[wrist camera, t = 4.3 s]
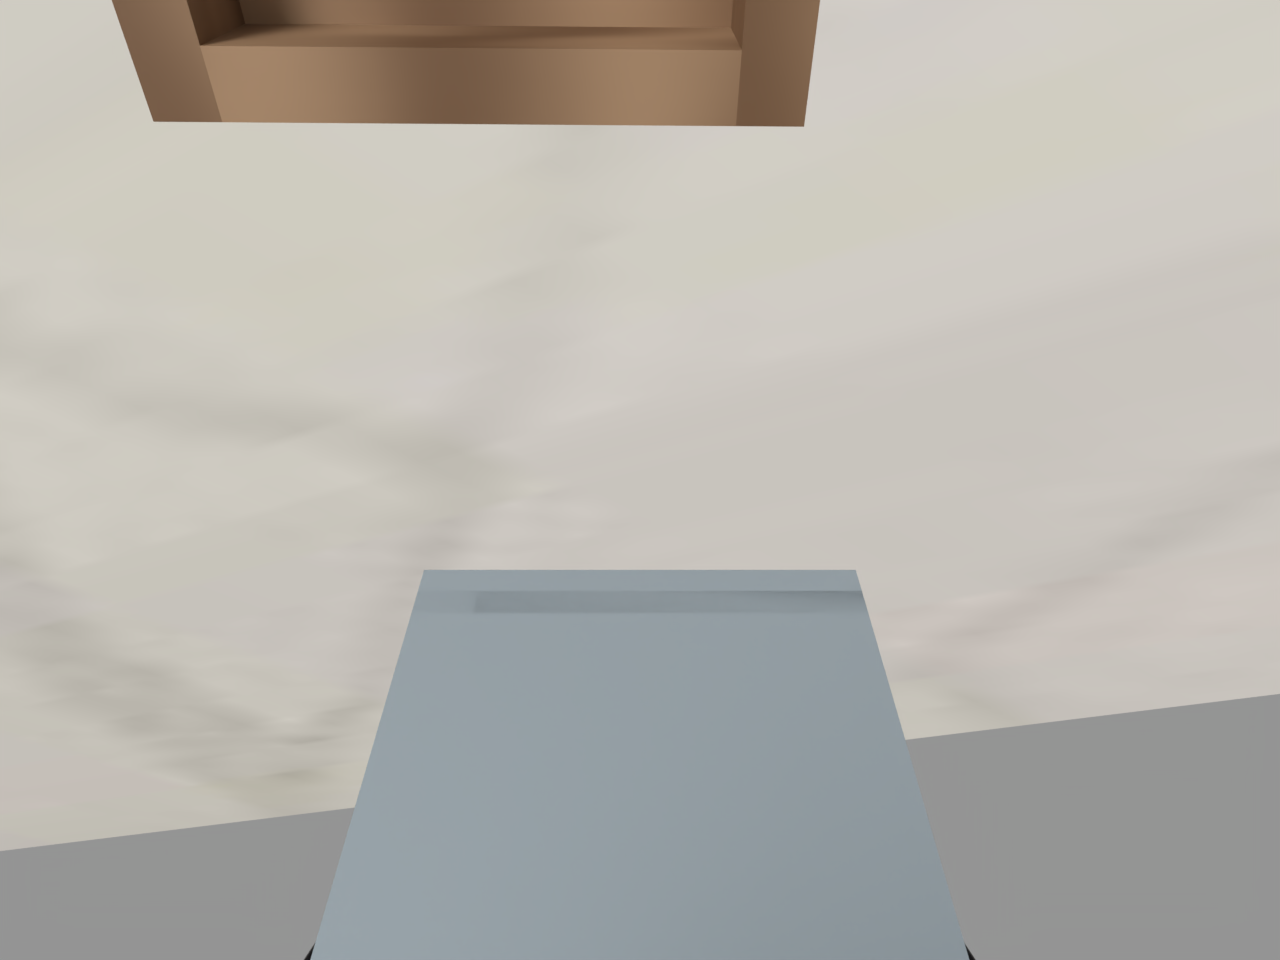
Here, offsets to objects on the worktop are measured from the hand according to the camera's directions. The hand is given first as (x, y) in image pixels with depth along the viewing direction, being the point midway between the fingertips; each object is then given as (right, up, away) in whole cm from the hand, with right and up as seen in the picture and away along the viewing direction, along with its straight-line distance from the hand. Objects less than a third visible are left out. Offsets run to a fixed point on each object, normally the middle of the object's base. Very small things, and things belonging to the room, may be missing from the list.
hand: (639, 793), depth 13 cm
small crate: (0, +1, +1) cm, 1 cm away
